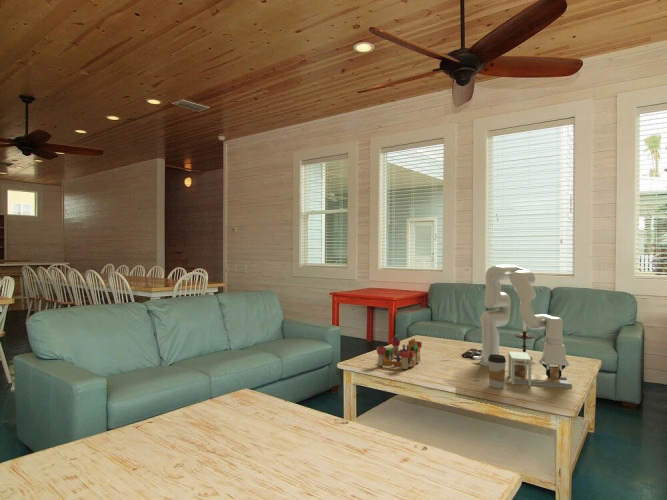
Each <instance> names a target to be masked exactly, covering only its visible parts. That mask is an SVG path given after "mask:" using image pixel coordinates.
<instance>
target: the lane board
mask: <svg viewBox="0 0 667 500" xmlns="http://www.w3.org/2000/svg"><path fill="white" fill-rule="evenodd" d="M559 381H560V383H556V382H544V381H532V380H531V386H535V387H537V386H538V387H540V386H541V387H550V388H551V387H552V388H562V387H564V389H573V384H572V383H570V382H569V381H568V380H567V376H561V377H560V379H559ZM514 385H526V386H528V380H520V379H515V376H514Z"/></svg>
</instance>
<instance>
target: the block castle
mask: <svg viewBox="0 0 667 500" xmlns="http://www.w3.org/2000/svg"><path fill="white" fill-rule="evenodd" d="M398 337H399V335H398V334H395V335H394V338H391V345H392V347H384V346H377V347H376V353H377V355H378V357H377V359H378V360H377V361H378V363H377V364H378V365H379V366H380V367H382V366H384V367H393V366H394V367H397V368H400V367H401V369H404V370H408V368H412V367H414V366H416V364H418V363H420V361H421V349H422V345H423V342H422V341H418V340H416V339H415V338H411V339H409V340H408V344H405V343H404V344H402V345H401V347H402V349H400V347H399V346H400V343H401V339H400V338H399V339H398ZM394 358H395V360H394Z"/></svg>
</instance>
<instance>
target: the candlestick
mask: <svg viewBox="0 0 667 500" xmlns="http://www.w3.org/2000/svg"><path fill="white" fill-rule="evenodd" d="M521 332H522V333H515V334H514V337H515V338H517V339H522V344H523V345H521V348H522V350H521V352H526V353H527V348H528V346H527V344H526V341H527V340H533V339H535V335H534V334H529V333H527V332H528V330H527V326H526V324H525V323H524V321H523V320H522V330H521ZM529 357H530V358H531V361H533V357H532V356H530V355H529Z"/></svg>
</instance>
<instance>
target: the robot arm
mask: <svg viewBox="0 0 667 500" xmlns="http://www.w3.org/2000/svg"><path fill="white" fill-rule="evenodd" d="M503 280H504V281H507V280H508V281H510V283H511V285H512V287H513V289H514V291H515V293H516V294H517V296H518V298H519V300H520V303H519V314H520V317H521V318H522V322H523V321H524V323H525V324H526V328H528V329H530V330H535V331H536V330H543V329H545V337H544V338H542V342H544V343H543V349H542V357H541V358H540V359H539V360H538V364H539V365H541V366H543V367H544V369H545V375H546V376H547V377H548V378H550V370H549V366H550V365H553V366H558V367H559V379H560V377H562V372H563V370H564V369H566V368H567V367H569V366H570V363H569V361H568V360H567V359H566V357H567V356H566V354H567V353H566V347H565V344H563V326H564V325H563V319H562V318H561V317H559V316H553V315H549V314H546V313H545V314H544V313H541V314H535V313H534V311H533V309H532V307H531V302H532V301H533V300H534V299H535V298H536V295H537V294H536V292H535V290H534V288H533V286H532V285H534V284H535V282H536V276H535V274H534V273H533V272H532V271H530V270H529V269H526V268H523V267H520V266H518V265H512V264H498V265H493V266H490V267H488V269H487V270H486V273H485V289H484V291H485V293H484V306H485V307H486V308H487V309H491V310H486V311H484V312H483V313H482V314H481V315H480V323H481V343H482V344H481V354H480V355H479V356H478V355H477V356H475V355H474V356H473V360H476V361H478V362H479V363H478V364H479V365H481V366H484V367H489V361H488V357H489V355H492V354H497V355H500V332H499V330H498V328H497V327H504V326H506V325H508V323H509V322H510V315H511V308H512V307H511V306H512V302H511V301H512V300H511V297H510V295H508V293H507V292H504V291H502V283H501V282H500V281H503Z"/></svg>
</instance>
